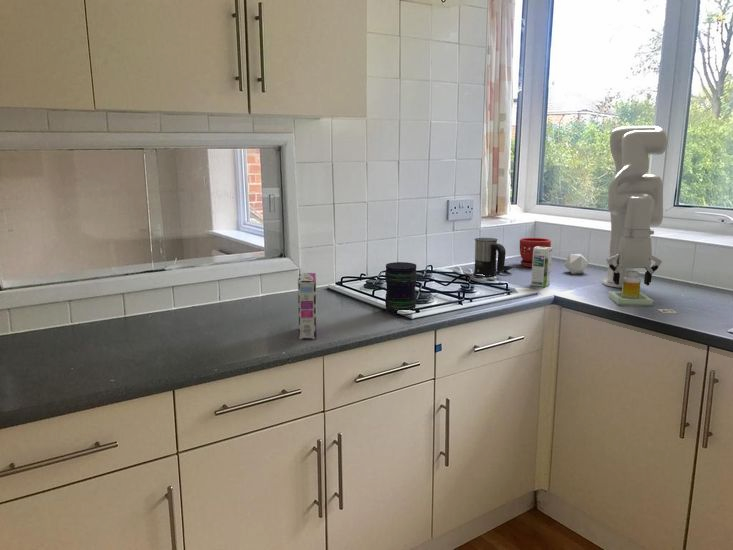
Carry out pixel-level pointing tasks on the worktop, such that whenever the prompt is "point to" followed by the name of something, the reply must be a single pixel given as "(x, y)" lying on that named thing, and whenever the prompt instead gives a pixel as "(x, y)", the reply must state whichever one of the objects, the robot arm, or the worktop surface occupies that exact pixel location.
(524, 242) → the plant pot
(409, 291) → the storage jar
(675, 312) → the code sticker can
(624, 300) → the green tray
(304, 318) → the candy bar box
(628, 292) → the supplement bottle
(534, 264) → the syrup box
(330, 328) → the worktop surface
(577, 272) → the die
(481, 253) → the milk frother
